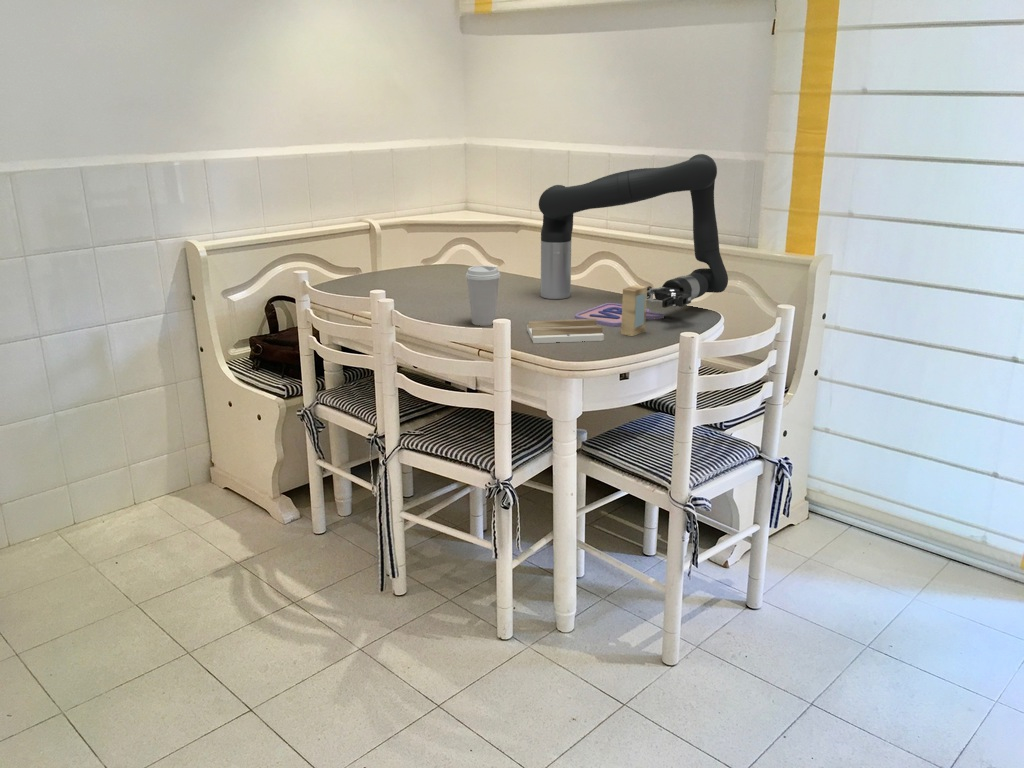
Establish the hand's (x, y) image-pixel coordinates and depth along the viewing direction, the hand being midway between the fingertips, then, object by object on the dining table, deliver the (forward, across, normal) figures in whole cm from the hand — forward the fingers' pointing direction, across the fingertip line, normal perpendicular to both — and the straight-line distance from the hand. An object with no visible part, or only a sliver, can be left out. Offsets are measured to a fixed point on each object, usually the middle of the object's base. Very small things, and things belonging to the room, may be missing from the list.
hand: (649, 301), depth 219 cm
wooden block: (+7, 0, +7) cm, 10 cm away
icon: (-3, -11, +8) cm, 14 cm away
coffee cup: (+25, -37, +7) cm, 45 cm away
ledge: (+21, -12, +7) cm, 25 cm away
